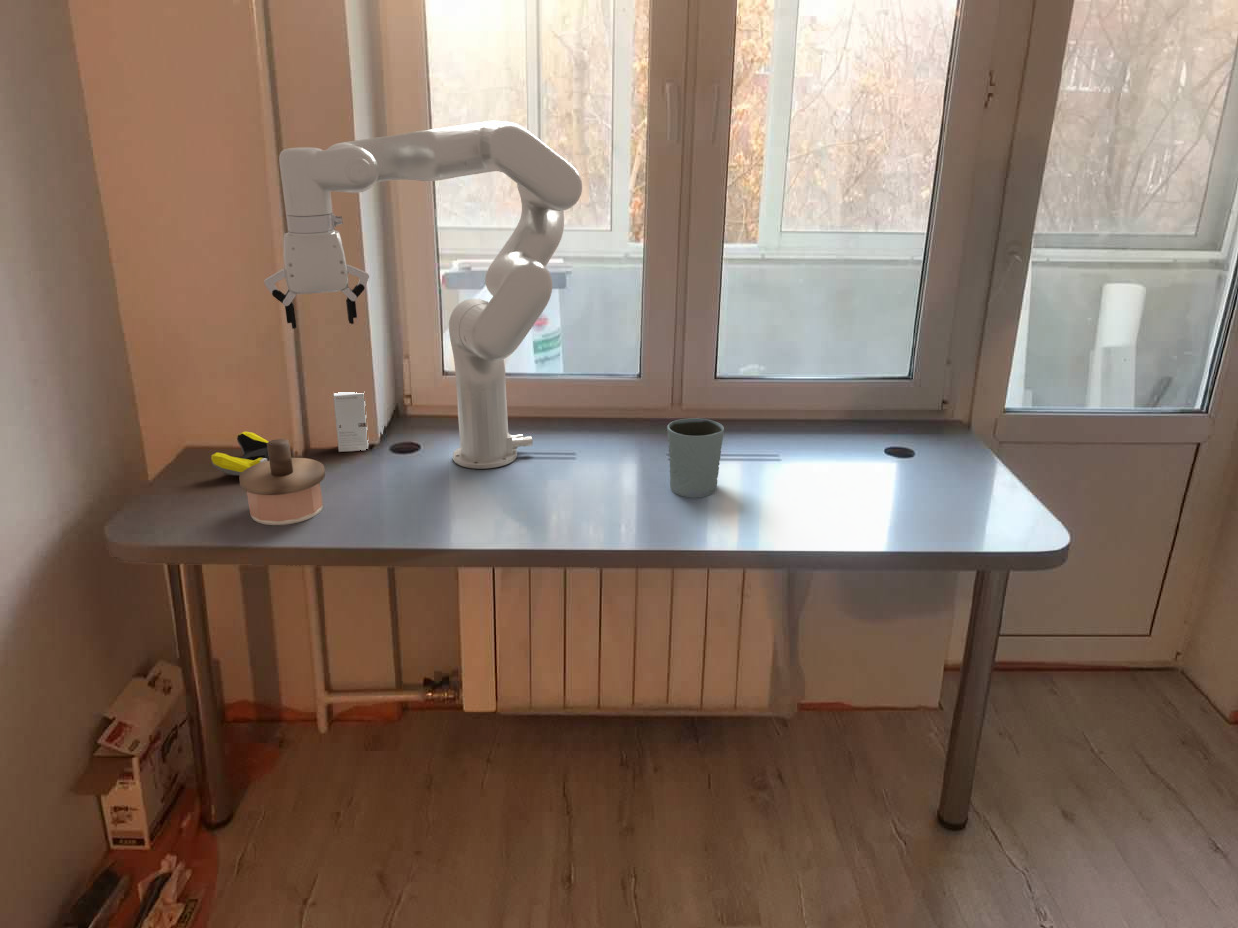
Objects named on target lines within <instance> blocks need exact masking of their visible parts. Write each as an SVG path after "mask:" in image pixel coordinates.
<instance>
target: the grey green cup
mask: <svg viewBox="0 0 1238 928" xmlns="http://www.w3.org/2000/svg"><path fill="white" fill-rule="evenodd" d="M666 428H667V429H666V430H667V441H668V457H669V466H668V467H669V487H670V490H671V492H672V493H674V494H676V495H678V496H681V497H687V498H703V497H707V496H711V495H713V494H715V492H716V490H717V488H718V477H719V470H720V464H721V462H720V461H721V454H722V450H721V449H722V445H723V440H724V433H725V428H724V425H722V423H719V422H717V421H714V420H712V419H707V418H697V417H696V418H690V417H689V418H682V419H676V420H674V421H671V422H669V423H668V424H667V427H666Z"/></svg>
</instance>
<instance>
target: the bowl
mask: <svg viewBox="0 0 1238 928" xmlns="http://www.w3.org/2000/svg"><path fill="white" fill-rule="evenodd" d="M321 489H322V486H321V482H320V483H318V484H317V485H315V486H313V487H310V488H308V489H305V490H302V491H298V492H294V493H288V494H281V495H259V494H253V493H249V492H247V491H246V496H247V503H248V508H249V514H250V517H251V519H252V520H253V521H255V522H256V523H258V524H261V525H267V526H286V525H293V524H298V523H301V522H305V521H307V520H309V519H312V518H313V517H316V516H317V515H318V514H320V513H321V512H322V511H323V509H324V507H323V506H324V504H323V496H322V490H321Z"/></svg>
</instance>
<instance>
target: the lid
mask: <svg viewBox="0 0 1238 928" xmlns="http://www.w3.org/2000/svg"><path fill="white" fill-rule="evenodd" d="M267 448H268V455H269V461H266V462H262V463H259V464H256V465H253V466H251V467H249V468H247V469H246V470H244V471H243V472H242V473H241V474H240V476H239V477H238V479H239V486H240V488H241V489H242V490H243V491H244V492H246V493H247V492H249V493H253V494H259V495H281V494H288V493H294V492H298V491H302V490H305V489H308V488H310V487H313V486H315V485H317V484H318V483H320V484H321V482H322V481H323V480H324V479H325V477H326V470H325V465H324V464H323V463H322V462H320V461H318V460H315V459H312V458H306V457H292V455H291V445H290V441H289V439H285V438H278V439H277V438H276V439H271V440H270V441H269V442H268V443H267Z"/></svg>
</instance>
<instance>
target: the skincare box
mask: <svg viewBox="0 0 1238 928" xmlns="http://www.w3.org/2000/svg"><path fill="white" fill-rule="evenodd" d="M364 393H365V392H364ZM364 393H357V392H356V393H355V392H338V393H334V392H333V396H332V397H333V405H334V416H335V426H336V427H335V428H336V437H337V447H338V448H337V449H338V452H339V453H341V452H344V453H345V452H356V451H357V452H358V451H360V450H361V451H367V450H366V449H368V450H369V443H368V441H369V439H368V440H367V430H368V426H367V427H366V418H367V414H366V415H365V406H366V400H365V401H364ZM361 451H360V452H361Z"/></svg>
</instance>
